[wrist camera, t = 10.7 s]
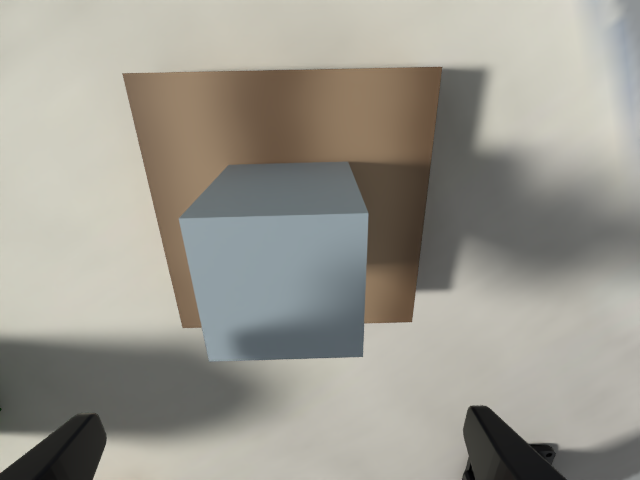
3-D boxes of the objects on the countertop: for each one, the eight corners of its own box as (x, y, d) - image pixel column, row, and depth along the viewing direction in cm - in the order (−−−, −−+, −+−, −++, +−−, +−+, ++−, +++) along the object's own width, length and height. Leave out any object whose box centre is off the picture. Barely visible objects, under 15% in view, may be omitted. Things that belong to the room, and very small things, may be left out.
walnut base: (420, 68, 16) (442, 66, 13) (399, 290, 21) (412, 322, 18) (155, 73, 16) (122, 73, 13) (199, 295, 21) (182, 328, 18)
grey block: (347, 161, 15) (368, 213, 9) (346, 265, 17) (362, 356, 11) (228, 164, 15) (178, 218, 9) (242, 268, 17) (209, 361, 11)
